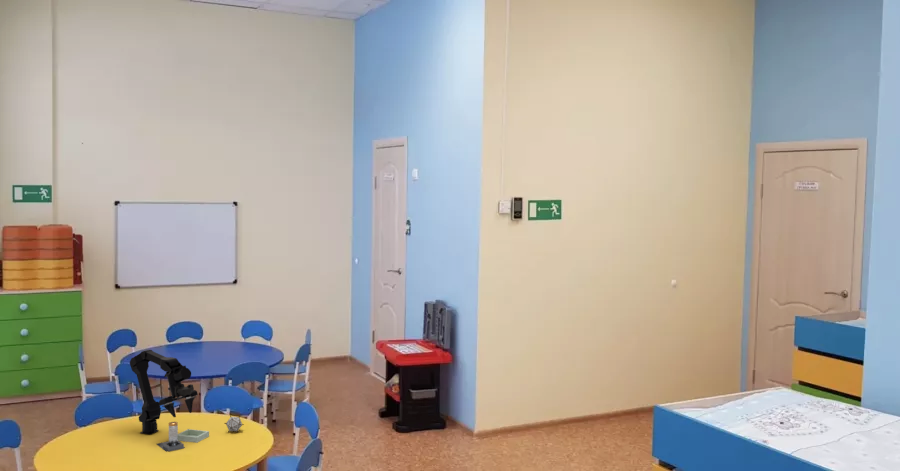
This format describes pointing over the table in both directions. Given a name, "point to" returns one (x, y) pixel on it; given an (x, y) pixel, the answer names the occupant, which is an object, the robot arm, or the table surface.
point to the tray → (192, 435)
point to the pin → (173, 433)
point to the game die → (234, 423)
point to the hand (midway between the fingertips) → (182, 414)
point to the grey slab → (168, 448)
